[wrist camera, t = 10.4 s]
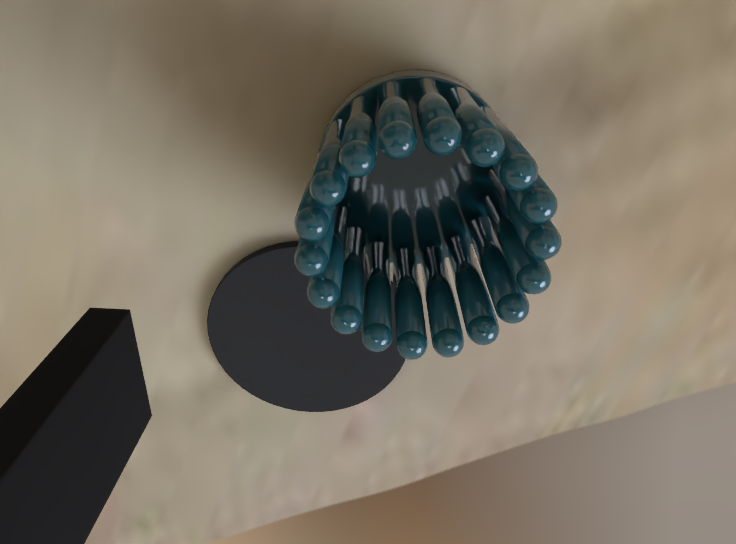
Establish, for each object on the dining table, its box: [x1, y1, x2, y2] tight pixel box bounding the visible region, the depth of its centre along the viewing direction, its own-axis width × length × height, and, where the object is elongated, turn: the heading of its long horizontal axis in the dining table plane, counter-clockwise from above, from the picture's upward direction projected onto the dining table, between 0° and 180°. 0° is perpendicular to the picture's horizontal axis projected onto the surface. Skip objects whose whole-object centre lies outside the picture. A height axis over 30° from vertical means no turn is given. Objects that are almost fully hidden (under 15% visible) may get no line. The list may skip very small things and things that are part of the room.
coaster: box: [207, 242, 405, 412], centre depth 28 cm, size 11×11×1 cm
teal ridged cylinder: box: [294, 70, 562, 360], centre depth 20 cm, size 9×8×8 cm
